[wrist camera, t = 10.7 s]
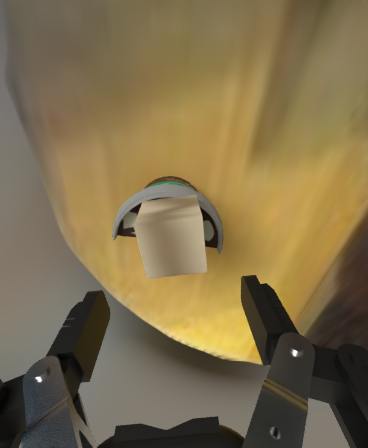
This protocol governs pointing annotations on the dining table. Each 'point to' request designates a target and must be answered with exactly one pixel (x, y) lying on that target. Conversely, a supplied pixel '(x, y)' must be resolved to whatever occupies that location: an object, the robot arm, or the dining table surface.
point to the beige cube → (171, 237)
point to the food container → (169, 189)
